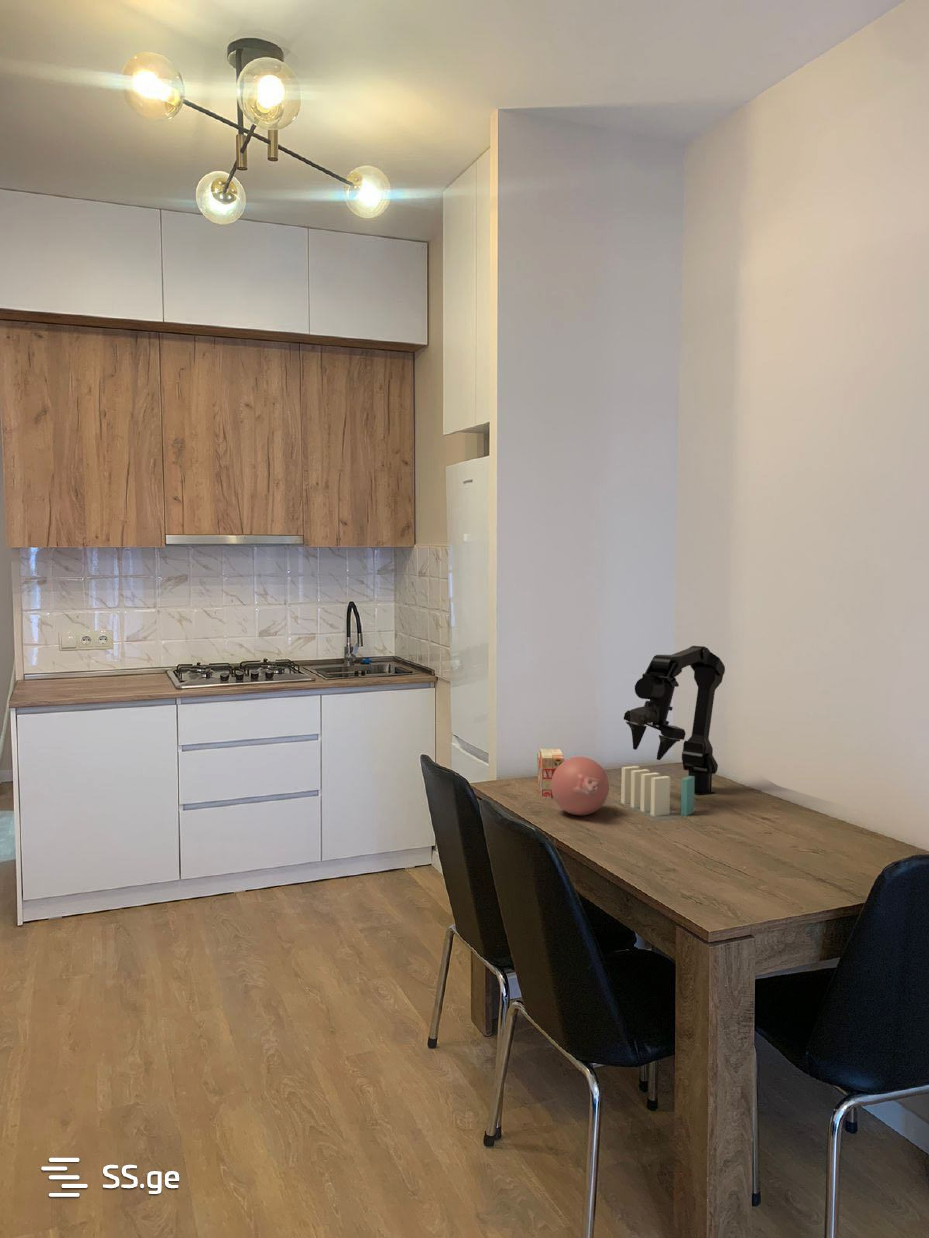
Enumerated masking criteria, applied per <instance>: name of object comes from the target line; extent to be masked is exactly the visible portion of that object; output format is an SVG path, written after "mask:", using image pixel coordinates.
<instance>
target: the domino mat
mask: <svg viewBox="0 0 929 1238" xmlns="http://www.w3.org/2000/svg"><path fill="white" fill-rule="evenodd" d="M608 801H610V802H612V801H621V800H608ZM616 804H617V805H619V804H623V803H616ZM629 804H631V803H629ZM621 806H622V807H624V808H626V809H629V810H630V811H631V810H632V811H633V812H637V813H638V814H641V815H643V816H647V817H649V818H652V819H653V820H656V821H665V820H671V819H672V820H673V819H678V818H680V819H681V818H682V815H678V814H676V813H674V812H671V811H669V814H667V815H659V816H652V815H650V812H651V811H648V812H643V811H640V807H638V808H633V807H631V805H624V806H623V805H621Z"/></svg>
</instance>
